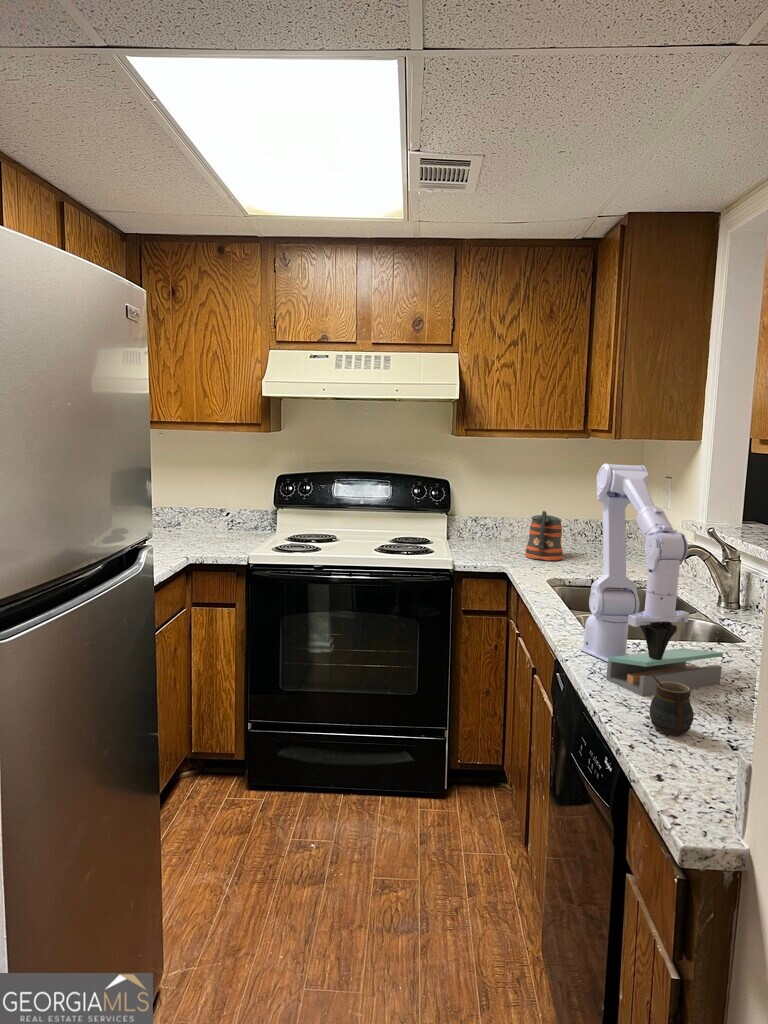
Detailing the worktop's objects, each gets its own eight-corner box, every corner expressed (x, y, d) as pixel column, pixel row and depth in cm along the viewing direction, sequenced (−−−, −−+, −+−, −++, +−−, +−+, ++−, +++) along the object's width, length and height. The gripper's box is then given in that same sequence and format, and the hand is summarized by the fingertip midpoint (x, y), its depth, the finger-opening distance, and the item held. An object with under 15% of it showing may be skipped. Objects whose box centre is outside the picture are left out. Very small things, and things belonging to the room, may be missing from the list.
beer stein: (561, 565, 281) (566, 513, 279) (523, 561, 285) (527, 510, 282) (562, 556, 300) (566, 508, 297) (525, 553, 303) (529, 505, 301)
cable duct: (604, 678, 154) (605, 660, 153) (679, 667, 163) (681, 651, 163) (642, 696, 144) (644, 677, 144) (719, 684, 154) (721, 666, 154)
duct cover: (608, 661, 153) (608, 657, 153) (682, 651, 162) (682, 648, 162) (646, 666, 144) (646, 662, 144) (723, 656, 153) (722, 652, 153)
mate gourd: (700, 739, 125) (705, 683, 124) (657, 739, 124) (662, 682, 123) (680, 722, 132) (685, 668, 131) (639, 721, 132) (644, 668, 130)
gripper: (650, 598, 139) (643, 668, 141) (703, 594, 146) (696, 661, 147) (622, 590, 146) (616, 657, 147) (675, 587, 152) (669, 651, 154)
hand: (655, 658), depth 148 cm, fingers closed, pressing on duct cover
